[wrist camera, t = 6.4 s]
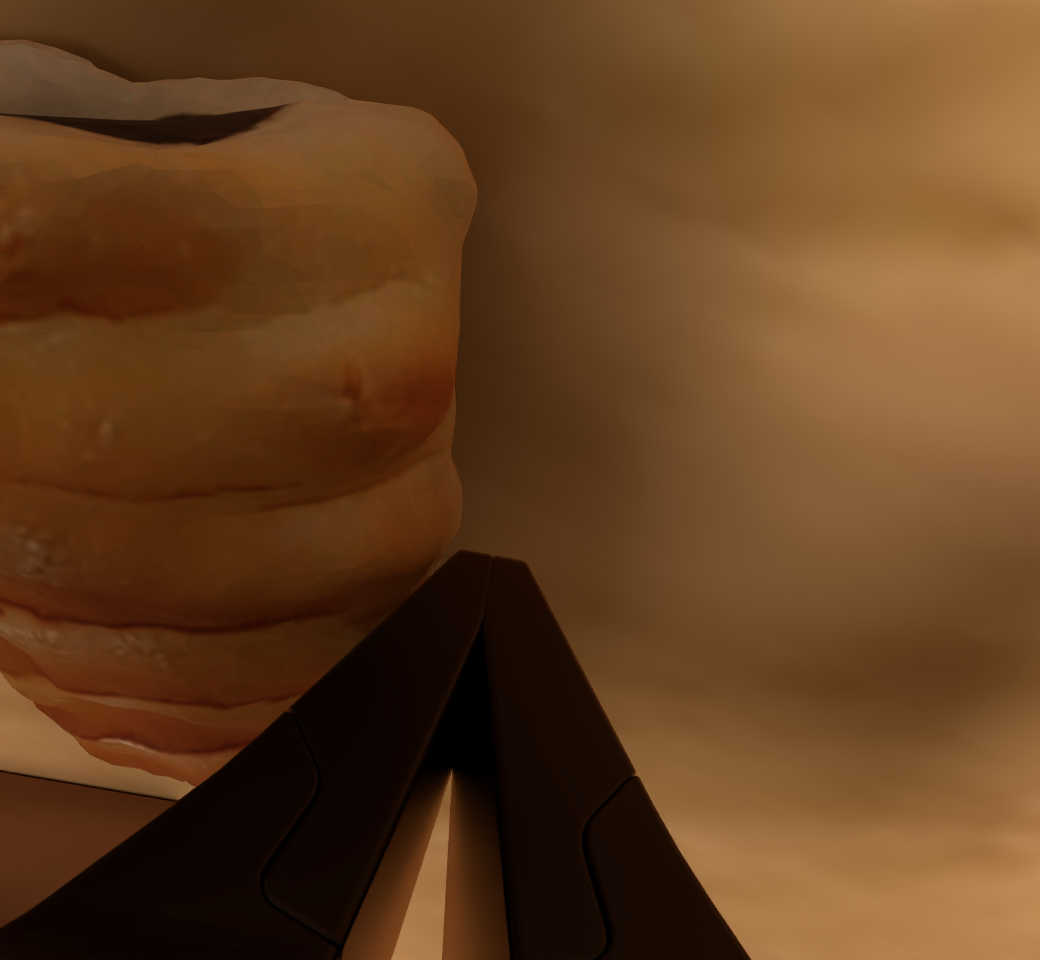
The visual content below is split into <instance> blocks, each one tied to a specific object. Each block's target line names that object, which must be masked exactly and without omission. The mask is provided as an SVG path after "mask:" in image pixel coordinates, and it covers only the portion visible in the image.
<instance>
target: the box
mask: <svg viewBox="0 0 1040 960" xmlns="http://www.w3.org/2000/svg"><path fill="white" fill-rule="evenodd" d="M175 803H176V802H172V801H166V800H161V799H155V798H149V797H143V796H137V795H131V794H125V793H119V792H114V791H108V790H102V789H96V788H90V787H84V786H78V785H73V784H67V783H61V782H55V781H49V780H43V779H37V778H32V777H26V776H20V775H14V774H8V773H2V772H0V926H2V925H3V924H5V923H7V922H8V921H10V920H12V919H13V918H15V917H17V916H18V915H20V914H22V913H23V912H25V911H26V910H28V909H29V908H31V907H32V906H34V905H35V904H37V903H38V902H40V901H41V900H43V899H44V898H45V897H47V896H48V895H50V894H51V893H52V892H54V891H55V890H57V889H58V888H59V887H61V886H62V885H63V884H65V883H66V882H68V881H69V880H70V879H72V878H73V877H74V876H76V875H77V874H79V873H80V872H81V871H83V870H84V869H85V868H87V867H88V866H89V865H91V864H92V863H94V862H95V861H96V860H98V859H99V858H100V857H102V856H103V855H105V854H106V853H107V852H109V851H110V850H111V849H113V848H114V847H116V846H117V845H118V844H120V843H121V842H122V841H124V840H125V839H127V838H128V837H129V836H131V835H132V834H133V833H135V832H136V831H138V830H139V829H140V828H142V827H143V826H144V825H146V824H147V823H149V822H150V821H151V820H153V819H154V818H155V817H157V816H158V815H160V814H161V813H162V812H164V811H165V810H166V809H168V808H169V807H170V806H172V805H173V804H175Z"/></svg>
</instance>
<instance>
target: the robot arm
mask: <svg viewBox="0 0 1040 960" xmlns="http://www.w3.org/2000/svg"><path fill="white" fill-rule="evenodd" d="M451 771H452V786H451V805H450V823H449V842H448V860H447V879H446V897H445V915H444V934H443V952H442V960H751V958H750V957H749V955H748V954H747V952H746V951H745V950H744V948H743V947H742V945H741V944H740V942H739V941H738V939H737V938H736V936H735V935H734V933H733V932H732V930H731V929H730V927H729V926H728V924H727V923H726V921H725V920H724V918H723V917H722V916H721V914H720V913H719V911H718V910H717V908H716V907H715V905H714V904H713V902H712V901H711V899H710V898H709V896H708V894H707V893H706V891H705V890H704V888H703V887H702V885H701V884H700V882H699V880H698V879H697V877H696V876H695V874H694V873H693V871H692V870H691V868H690V866H689V865H688V863H687V862H686V860H685V859H684V857H683V855H682V854H681V852H680V851H679V849H678V847H677V846H676V844H675V842H674V840H673V838H672V837H671V835H670V833H669V831H668V830H667V828H666V826H665V824H664V822H663V821H662V819H661V817H660V815H659V814H658V812H657V810H656V808H655V806H654V805H653V803H652V801H651V799H650V797H649V795H648V793H647V791H646V789H645V787H644V785H643V783H642V781H641V779H640V778H639V777H638V776H635V774H636V771H635V769H634V767H633V765H632V763H631V761H630V759H629V757H628V755H627V753H626V751H625V750H624V748H623V746H622V744H621V742H620V740H619V738H618V736H617V734H616V732H615V730H614V729H613V727H612V725H611V723H610V721H609V719H608V717H607V715H606V713H605V711H604V709H603V708H602V706H601V704H600V702H599V700H598V698H597V696H596V694H595V692H594V690H593V688H592V687H591V685H590V683H589V681H588V679H587V677H586V675H585V673H584V671H583V669H582V667H581V666H580V664H579V662H578V660H577V658H576V656H575V654H574V652H573V650H572V648H571V646H570V645H569V643H568V641H567V639H566V637H565V635H564V633H563V631H562V629H561V627H560V625H559V624H558V622H557V620H556V618H555V616H554V614H553V612H552V610H551V608H550V606H549V604H548V603H547V601H546V599H545V597H544V595H543V593H542V591H541V589H540V587H539V585H538V583H537V582H536V580H535V578H534V576H533V574H532V572H531V570H530V568H529V566H528V565H527V564H526V563H525V562H524V561H521V560H515V559H510V558H505V557H500V556H494V557H493V556H491V555H489V554H484V553H479V552H474V551H469V550H459V551H458V552H456V553H455V554H454V555H453V556H452V557H451V558H450V559H449V560H448V561H447V562H446V563H444V564H443V565H442V566H441V567H440V568H439V569H438V570H437V571H436V572H435V573H434V574H433V575H432V576H430V577H429V578H428V579H427V580H426V581H425V582H424V583H423V584H422V585H421V586H420V587H419V588H417V589H416V590H415V591H414V592H413V593H412V594H411V595H410V596H409V597H408V598H407V599H406V600H405V601H403V602H402V603H401V604H400V605H399V606H398V607H397V608H396V609H395V610H394V611H393V612H392V613H391V614H389V615H388V616H387V617H386V618H385V619H384V620H383V621H382V622H381V623H380V624H379V625H378V626H376V627H375V628H374V629H373V630H372V631H371V632H370V633H369V634H368V635H367V636H366V637H365V638H364V639H362V640H361V641H360V642H359V643H358V644H357V645H356V646H355V647H354V648H353V649H352V650H351V651H350V652H348V653H347V654H346V655H345V656H344V657H343V658H342V659H341V660H340V661H339V662H338V663H337V664H335V665H334V666H333V667H332V668H331V669H330V670H329V671H328V672H327V673H326V674H325V675H324V676H323V677H321V678H320V679H319V680H318V681H317V682H316V683H315V684H314V685H313V686H312V687H311V688H310V689H309V690H307V691H306V692H305V693H304V694H303V695H302V696H301V697H300V698H299V699H298V700H297V701H296V702H294V703H293V704H292V705H291V706H290V707H289V710H288V711H285V712H283V713H282V714H281V715H280V716H279V717H278V718H277V719H276V720H275V721H273V722H272V723H271V724H270V725H269V726H268V727H267V728H266V729H265V730H264V731H263V732H262V733H261V734H260V735H259V736H257V737H256V738H255V739H254V740H253V741H252V742H250V743H249V744H248V745H247V746H246V747H245V748H243V749H242V750H241V751H240V752H239V753H238V754H237V755H235V756H234V757H233V758H232V759H231V760H230V761H228V762H227V763H226V764H225V765H224V766H223V767H222V768H220V769H219V770H218V771H216V772H215V773H214V774H212V775H211V776H210V777H209V778H207V779H206V780H205V781H203V782H202V783H201V784H199V785H198V786H197V787H195V788H194V789H193V790H192V791H190V792H189V793H188V794H186V795H185V796H184V797H182V798H181V799H180V800H178V801H177V802H176V803H175V804H173V805H172V806H170V807H169V808H168V809H166V810H165V811H164V812H162V813H161V814H160V815H158V816H157V817H155V818H154V819H153V820H151V821H150V822H149V823H147V824H146V825H144V826H143V827H142V828H140V829H139V830H138V831H136V832H135V833H133V834H132V835H131V836H129V837H128V838H127V839H125V840H124V841H122V842H121V843H120V844H118V845H117V846H116V847H114V848H113V849H111V850H110V851H109V852H107V853H106V854H105V855H103V856H102V857H100V858H99V859H98V860H96V861H95V862H94V863H92V864H91V865H89V866H88V867H87V868H85V869H84V870H83V871H81V872H80V873H79V874H77V875H76V876H74V877H73V878H72V879H70V880H69V881H68V882H66V883H65V884H63V885H62V886H61V887H59V888H58V889H57V890H55V891H54V892H52V893H51V894H50V895H48V896H47V897H45V898H44V899H43V900H41V901H40V902H38V903H37V904H35V905H34V906H32V907H31V908H29V909H28V910H26V911H25V912H23V913H22V914H20V915H18V916H17V917H15V918H13V919H12V920H10V921H8V922H7V923H5V924H3V925H2V926H0V960H391V958H392V955H393V952H394V949H395V946H396V943H397V940H398V937H399V933H400V930H401V927H402V924H403V921H404V918H405V915H406V912H407V908H408V905H409V902H410V899H411V896H412V893H413V890H414V887H415V883H416V880H417V877H418V874H419V871H420V868H421V865H422V862H423V859H424V855H425V852H426V849H427V846H428V843H429V840H430V837H431V834H432V830H433V827H434V824H435V821H436V818H437V815H438V812H439V809H440V805H441V802H442V799H443V796H444V793H445V790H446V787H447V784H448V781H449V777H450V774H451Z"/></svg>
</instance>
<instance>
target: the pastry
mask: <svg viewBox="0 0 1040 960" xmlns="http://www.w3.org/2000/svg"><path fill="white" fill-rule="evenodd" d="M477 193H478V187H477V185H476V182H475V180H474V178H473V175H472V173H471V170H470V168H469V165H468V162H467V159H466V156H465V154H464V151H463V149H462V148H461V146H460V145H459V143H458V142H457V141H456V140H455V138H454V137H453V136H452V135H451V134H450V133H449V132H448V131H447V130H446V129H445V128H444V127H443V126H442V125H441V124H440V123H439V122H438V121H437V120H436V119H435V118H434V117H433V116H432V115H430V114H428V113H426V112H424V111H422V110H420V109H417V108H414V107H408V106H400V105H392V104H385V103H377V102H369V101H360V100H352V99H350V98H348V97H347V96H345V95H343V94H341V93H339V92H337V91H335V90H332V89H328V88H324V87H320V86H316V85H312V84H308V83H304V82H300V81H290V80H277V79H271V78H267V77H252V78H242V79H230V80H215V79H207V78H200V77H195V78H190V79H167V80H157V81H151V82H130V81H128V80H126V79H123V78H121V77H119V76H117V75H114V74H112V73H110V72H107V71H103V70H100V69H97V68H96V67H95V66H94V65H93V64H92V63H91V62H90V61H89V60H86V59H84V58H81V57H79V56H76V55H74V54H71V53H69V52H66V51H64V50H61V49H58V48H55V47H51V46H48V45H44V44H40V43H36V42H32V41H29V40H25V39H19V40H0V672H1V673H2V675H3V676H4V677H5V678H6V679H7V681H8V682H9V683H10V684H11V686H12V687H13V688H14V689H16V690H17V691H18V692H19V693H20V694H22V695H23V696H25V697H27V698H28V699H30V700H32V701H33V702H34V704H35V705H36V707H37V708H38V709H40V710H41V711H42V712H43V713H45V714H46V715H47V716H48V717H50V718H51V719H52V720H53V721H55V722H56V723H57V724H58V725H59V726H60V727H62V728H63V729H64V730H65V731H67V732H68V733H70V734H71V735H72V736H74V737H75V738H76V740H77V741H78V742H79V744H80V745H81V746H82V747H83V748H84V749H85V750H86V751H87V752H88V753H89V754H90V755H92V756H94V757H96V758H99V759H101V760H103V761H105V762H108V763H110V764H112V765H118V766H124V767H131V768H137V769H142V770H144V771H146V772H149V773H151V774H153V775H159V776H168V777H172V778H174V779H177V780H179V781H182V782H183V781H186V782H188V783H190V784H191V785H193V786H196V787H197V786H198V785H199V784H201V783H202V782H203V781H205V780H206V779H207V778H209V777H210V776H211V775H212V774H214V773H215V772H216V771H218V770H219V769H220V768H222V767H223V766H224V765H225V764H226V763H227V762H228V761H230V760H231V759H232V758H233V757H234V756H235V755H237V754H238V753H239V752H240V751H241V750H242V749H243V748H245V747H246V746H247V745H248V744H249V743H250V742H252V741H253V740H254V739H255V738H256V737H257V736H259V735H260V734H261V733H262V732H263V731H264V730H265V729H266V728H267V727H268V726H269V725H270V724H271V723H272V722H273V721H275V720H276V719H277V718H278V717H279V716H280V715H281V714H282V713H283V712H285V711H288V710H289V707H290V706H291V705H292V704H293V703H294V702H296V701H297V700H298V699H299V698H300V697H301V696H302V695H303V694H304V693H305V692H306V691H307V690H309V689H310V688H311V687H312V686H313V685H314V684H315V683H316V682H317V681H318V680H319V679H320V678H321V677H323V676H324V675H325V674H326V673H327V672H328V671H329V670H330V669H331V668H332V667H333V666H334V665H335V664H337V663H338V662H339V661H340V660H341V659H342V658H343V657H344V656H345V655H346V654H347V653H348V652H350V651H351V650H352V649H353V648H354V647H355V646H356V645H357V644H358V643H359V642H360V641H361V640H362V639H364V638H365V637H366V636H367V635H368V634H369V633H370V632H371V631H372V630H373V629H374V628H375V627H376V626H378V625H379V624H380V623H381V622H382V621H383V620H384V619H385V618H386V617H387V616H388V615H389V614H391V613H392V612H393V611H394V610H395V609H396V608H397V607H398V606H399V605H400V604H401V603H402V602H403V601H405V600H406V599H407V598H408V597H409V596H410V595H411V594H412V593H413V592H414V591H415V590H416V589H417V588H419V587H420V586H421V585H422V584H423V583H424V582H425V580H426V578H427V576H428V574H429V573H430V571H431V569H432V568H433V566H434V565H435V564H436V563H437V561H438V560H439V559H440V558H441V556H442V555H443V553H444V552H445V550H446V549H447V547H448V546H449V544H450V543H451V541H452V540H453V538H454V537H455V536H456V534H457V533H458V531H459V530H460V527H461V520H462V512H463V495H462V484H461V481H460V479H459V476H458V473H457V470H456V467H455V464H454V462H453V459H452V456H451V447H452V442H453V435H454V426H455V418H456V394H455V377H456V364H457V353H458V345H459V334H460V291H461V261H462V248H463V243H464V240H465V237H466V234H467V232H468V229H469V226H470V223H471V220H472V217H473V214H474V211H475V208H476V206H477Z"/></svg>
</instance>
